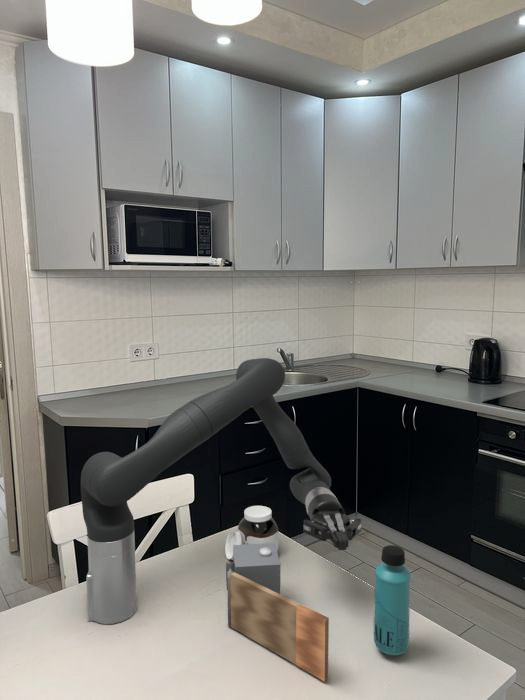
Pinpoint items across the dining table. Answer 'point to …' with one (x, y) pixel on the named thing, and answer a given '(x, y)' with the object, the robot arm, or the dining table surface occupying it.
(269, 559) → the box
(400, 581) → the beverage bottle
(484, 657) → the dining table surface
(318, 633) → the door
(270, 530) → the spread jar
